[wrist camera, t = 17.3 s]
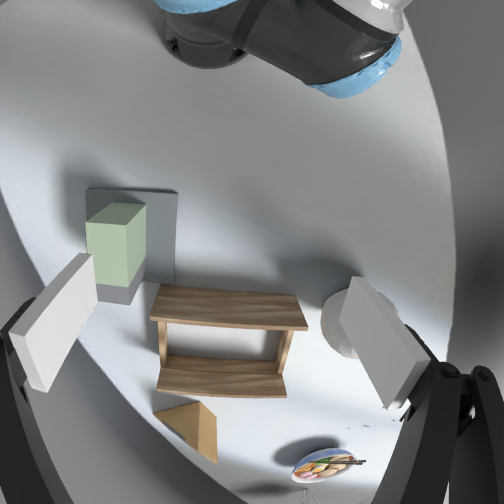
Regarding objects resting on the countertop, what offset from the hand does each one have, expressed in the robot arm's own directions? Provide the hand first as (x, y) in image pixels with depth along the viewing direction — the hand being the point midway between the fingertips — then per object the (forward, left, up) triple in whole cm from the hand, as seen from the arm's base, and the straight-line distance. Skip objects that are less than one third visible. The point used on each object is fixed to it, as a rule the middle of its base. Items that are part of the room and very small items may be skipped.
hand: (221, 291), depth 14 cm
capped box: (+11, -15, -34) cm, 38 cm away
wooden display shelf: (+29, +3, -35) cm, 45 cm away
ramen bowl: (+85, +40, -35) cm, 100 cm away
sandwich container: (+60, -6, -35) cm, 70 cm away
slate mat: (+11, -15, -35) cm, 39 cm away
